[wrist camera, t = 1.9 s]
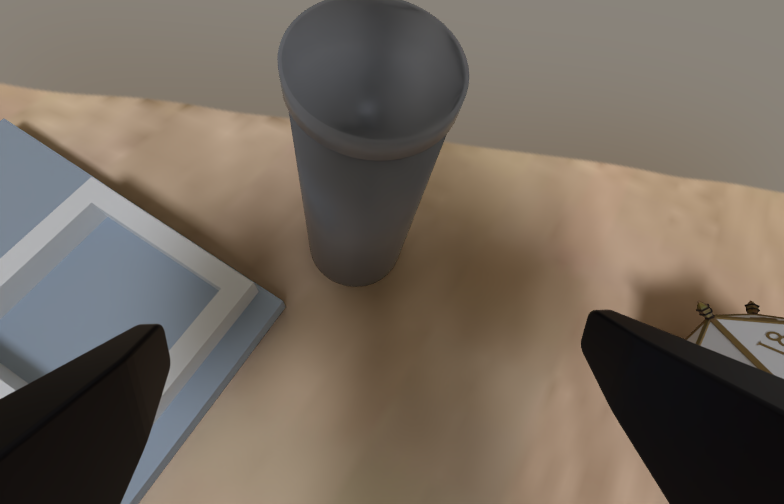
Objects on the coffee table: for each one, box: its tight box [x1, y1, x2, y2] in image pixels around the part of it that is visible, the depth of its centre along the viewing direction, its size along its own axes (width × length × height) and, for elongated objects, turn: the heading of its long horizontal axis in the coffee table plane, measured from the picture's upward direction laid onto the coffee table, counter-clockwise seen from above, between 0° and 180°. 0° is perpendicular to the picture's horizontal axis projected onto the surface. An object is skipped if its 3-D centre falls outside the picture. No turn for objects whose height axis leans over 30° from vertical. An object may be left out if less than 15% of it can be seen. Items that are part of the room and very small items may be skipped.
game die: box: [685, 301, 784, 379], centre depth 19 cm, size 9×8×10 cm
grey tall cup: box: [278, 0, 469, 287], centre depth 17 cm, size 5×5×13 cm
